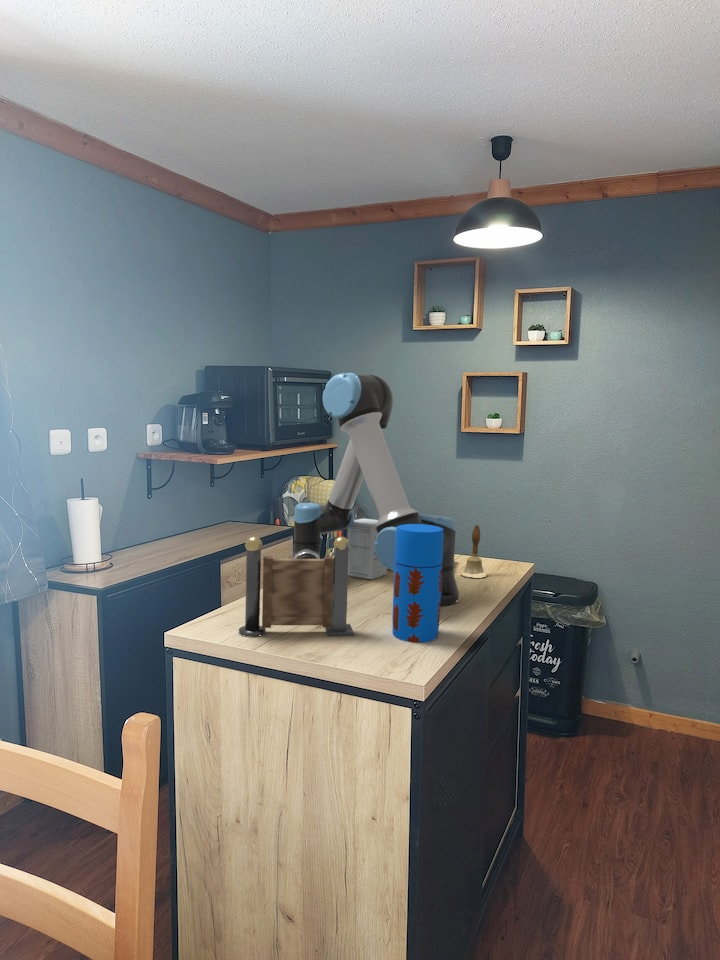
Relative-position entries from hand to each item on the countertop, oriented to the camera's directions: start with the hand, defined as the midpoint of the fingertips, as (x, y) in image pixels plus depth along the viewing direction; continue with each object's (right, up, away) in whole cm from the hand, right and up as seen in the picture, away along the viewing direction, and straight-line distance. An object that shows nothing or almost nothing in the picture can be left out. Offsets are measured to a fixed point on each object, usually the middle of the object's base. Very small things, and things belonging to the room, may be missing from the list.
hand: (306, 588), depth 171 cm
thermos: (+25, -10, -6) cm, 28 cm away
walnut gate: (-2, -7, -7) cm, 10 cm away
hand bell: (+48, -4, +54) cm, 72 cm away
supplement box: (+15, -3, +49) cm, 52 cm away
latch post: (+8, -9, -5) cm, 13 cm away
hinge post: (-12, -9, -8) cm, 17 cm away
